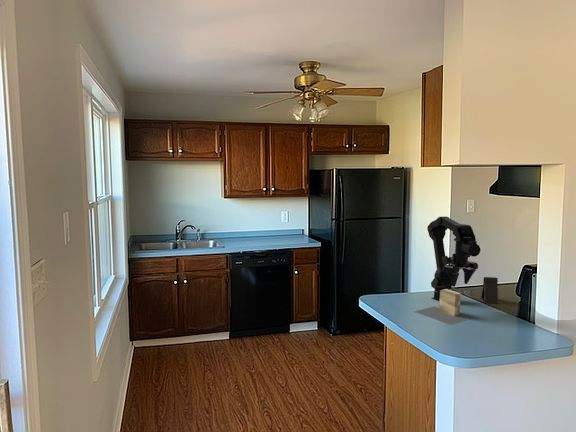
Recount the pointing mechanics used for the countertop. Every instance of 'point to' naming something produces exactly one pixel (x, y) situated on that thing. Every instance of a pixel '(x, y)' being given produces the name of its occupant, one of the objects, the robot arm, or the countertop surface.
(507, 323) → the countertop surface
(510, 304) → the countertop surface
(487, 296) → the phone stand
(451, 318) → the mat
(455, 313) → the maple block
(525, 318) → the countertop surface
